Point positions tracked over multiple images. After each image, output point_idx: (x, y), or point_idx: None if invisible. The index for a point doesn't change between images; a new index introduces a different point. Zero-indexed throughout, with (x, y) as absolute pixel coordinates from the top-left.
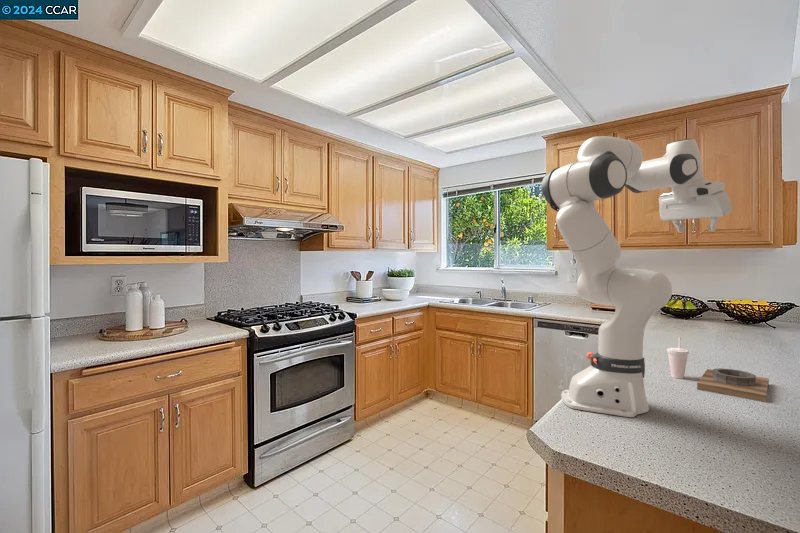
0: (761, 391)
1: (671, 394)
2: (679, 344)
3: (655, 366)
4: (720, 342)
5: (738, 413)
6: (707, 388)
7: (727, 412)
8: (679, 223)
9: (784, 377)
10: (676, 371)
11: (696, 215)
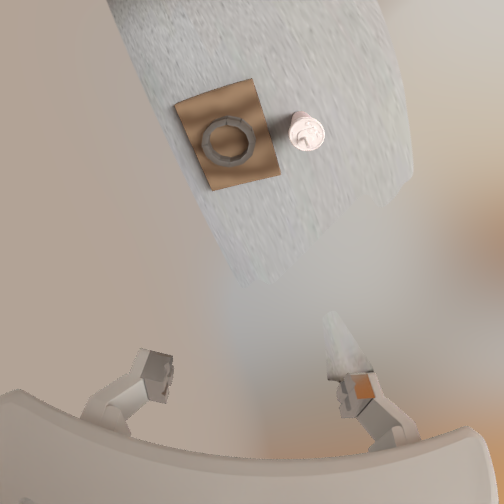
0: (185, 118)
1: (260, 22)
2: (305, 139)
3: (347, 155)
4: (324, 324)
5: (171, 28)
6: (238, 82)
7: (180, 19)
8: (373, 430)
9: (220, 233)
10: (299, 113)
11: (200, 479)
